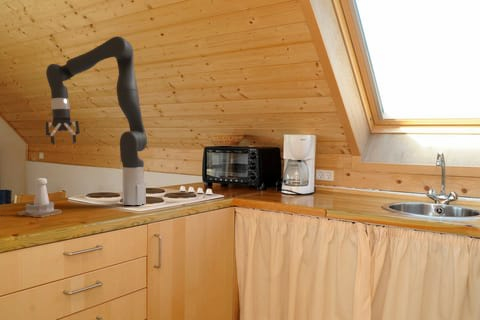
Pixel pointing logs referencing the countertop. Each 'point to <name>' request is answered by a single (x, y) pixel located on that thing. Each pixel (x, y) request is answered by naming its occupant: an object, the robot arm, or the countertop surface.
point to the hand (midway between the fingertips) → (63, 144)
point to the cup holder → (39, 210)
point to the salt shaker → (41, 192)
